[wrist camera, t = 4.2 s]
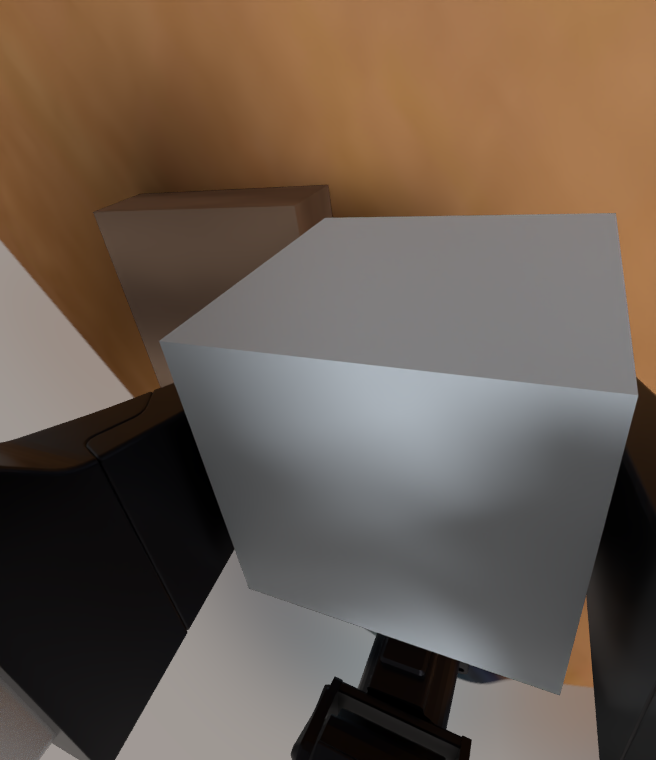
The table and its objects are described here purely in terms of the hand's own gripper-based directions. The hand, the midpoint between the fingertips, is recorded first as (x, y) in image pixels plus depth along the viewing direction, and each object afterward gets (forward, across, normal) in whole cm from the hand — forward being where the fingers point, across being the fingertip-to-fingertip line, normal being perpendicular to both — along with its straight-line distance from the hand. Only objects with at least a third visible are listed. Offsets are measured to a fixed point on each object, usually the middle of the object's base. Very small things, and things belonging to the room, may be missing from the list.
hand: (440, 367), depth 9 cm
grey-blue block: (+1, 0, 0) cm, 1 cm away
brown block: (+11, +12, +4) cm, 17 cm away
